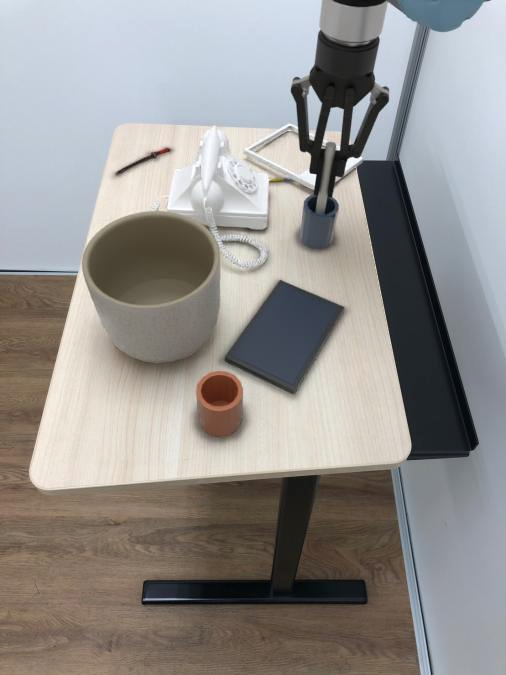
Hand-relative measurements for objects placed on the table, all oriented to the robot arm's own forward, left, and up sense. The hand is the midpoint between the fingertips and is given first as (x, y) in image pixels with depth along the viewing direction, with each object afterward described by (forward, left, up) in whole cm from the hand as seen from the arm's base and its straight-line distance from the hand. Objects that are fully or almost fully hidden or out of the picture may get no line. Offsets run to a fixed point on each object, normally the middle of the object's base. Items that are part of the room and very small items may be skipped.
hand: (323, 190), depth 84 cm
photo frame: (+2, -16, -9) cm, 19 cm away
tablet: (-5, +21, -10) cm, 24 cm away
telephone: (+18, +6, -10) cm, 21 cm away
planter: (+11, +29, -10) cm, 33 cm away
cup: (-4, +38, -10) cm, 39 cm away
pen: (+13, -10, -9) cm, 18 cm away
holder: (0, 0, -10) cm, 10 cm away
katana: (+40, -1, -10) cm, 41 cm away
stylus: (0, 0, -8) cm, 8 cm away
